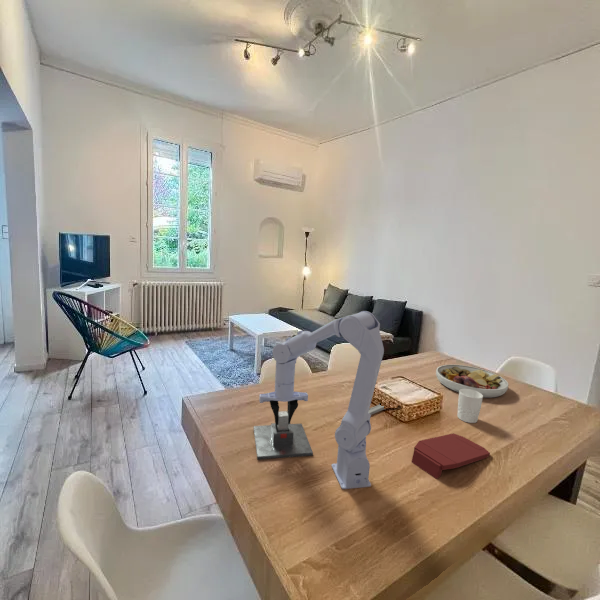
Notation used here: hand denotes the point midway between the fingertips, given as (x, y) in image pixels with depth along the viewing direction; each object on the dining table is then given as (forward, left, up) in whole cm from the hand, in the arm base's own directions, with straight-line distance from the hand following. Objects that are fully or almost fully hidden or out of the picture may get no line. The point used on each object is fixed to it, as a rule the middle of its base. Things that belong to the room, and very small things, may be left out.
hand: (282, 422), depth 103 cm
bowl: (+35, -94, -7) cm, 101 cm away
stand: (0, 0, -6) cm, 6 cm away
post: (0, 0, -5) cm, 5 cm away
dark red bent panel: (-13, -49, -7) cm, 52 cm away
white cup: (+7, -71, -6) cm, 72 cm away
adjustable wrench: (+16, -38, -7) cm, 42 cm away
